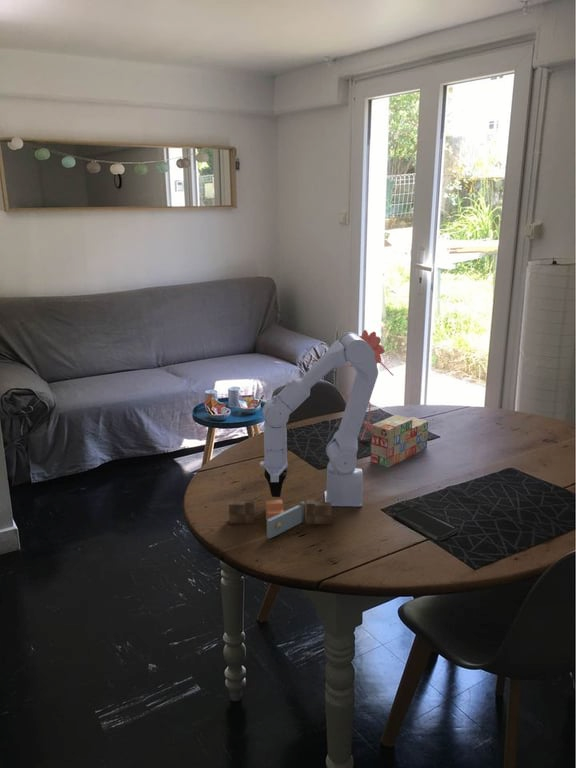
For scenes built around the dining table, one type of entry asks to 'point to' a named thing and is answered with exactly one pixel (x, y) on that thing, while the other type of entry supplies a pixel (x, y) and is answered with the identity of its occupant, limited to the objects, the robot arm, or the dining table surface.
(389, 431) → the stack of blocks
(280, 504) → the orange block
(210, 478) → the dining table surface
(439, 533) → the phone
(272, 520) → the door
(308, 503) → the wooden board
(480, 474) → the dining table surface
